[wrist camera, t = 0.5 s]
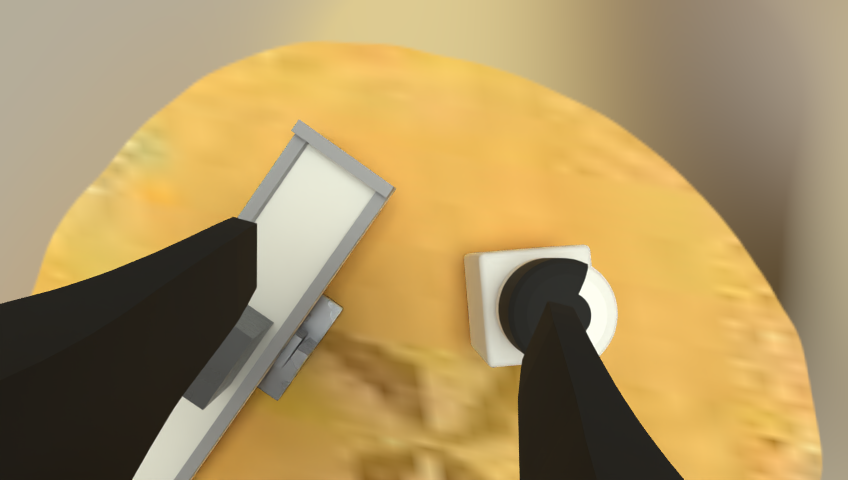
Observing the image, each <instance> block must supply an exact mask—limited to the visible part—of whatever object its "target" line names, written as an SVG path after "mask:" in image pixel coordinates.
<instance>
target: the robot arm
mask: <svg viewBox="0 0 848 480" xmlns="http://www.w3.org/2000/svg"><path fill="white" fill-rule="evenodd" d="M256 288H257V223H254V222H251V221H247V220H243V219H239V218H236V217H232V218H230V219H227V220H225V221H223V222H220V223H218V224H216V225H214V226H212V227H210V228H207V229H205V230H203V231H201V232H199V233H197V234H195V235H193V236H191V237H188V238H186V239H184V240H182V241H180V242H178V243H175V244H173V245H171V246H169V247H167V248H164V249H162V250H160V251H158V252H156V253H153V254H151V255H148V256H146V257H143V258H141V259H139V260H136V261H134V262H131V263H129V264H126V265H124V266H121V267H119V268H117V269H114V270H112V271H109V272H106V273H103V274H101V275H98V276H95V277H92V278H89V279H86V280H83V281H80V282H77V283H74V284H71V285H68V286H65V287H61V288H58V289H55V290H51V291H48V292H44V293H40V294H36V295H32V296H29V297H25V298H21V299H17V300H13V301H10V302H6V303H2V304H0V480H132V479H133V477H134V476H135V474H136V472H137V470H138V469H139V467H140V465H141V463H142V462H143V460H144V458H145V456H146V455H147V453H148V451H149V449H150V448H151V446H152V444H153V443H154V441H155V439H156V438H157V436H158V434H159V433H160V431H161V429H162V428H163V426H164V424H165V423H166V421H167V419H168V418H169V416H170V414H171V413H172V411H173V409H174V408H175V406H176V405H177V403H178V402H179V401H180V399H181V398H182V396H183V395H184V393H185V392H186V391H187V389H188V388H189V387H190V385H191V384H192V383H193V381H194V380H195V379H196V377H197V376H198V375H199V373H200V372H201V371H202V369H203V368H204V367H205V365H206V364H207V363H208V361H209V360H210V359H211V357H212V356H213V355H214V353H215V352H216V351H217V349H218V348H219V347H220V345H221V344H222V343H223V341H224V340H225V339H226V337H227V336H228V335H229V333H230V332H231V331H232V329H233V328H234V326H235V325H236V324H237V322H238V321H239V319H240V317H241V316H242V314H243V312H244V310H245V309H246V307H247V305H248V303H249V301H250V300H251V298H252V296H253V294H254V292H255V290H256ZM518 425H519V466H520V480H684V479H683V478H682V477H681V475H680V474H679V473H678V472H677V471H676V469H675V468H674V467H673V466H672V464H671V463H670V462H669V461H668V459H667V458H666V457H665V456H664V454H663V453H662V452H661V450H660V449H659V448H658V446H657V445H656V444H655V442H654V441H653V440H652V439H651V437H650V436H649V435H648V433H647V432H646V430H645V429H644V428H643V426H642V425H641V423H640V422H639V421H638V419H637V418H636V416H635V415H634V413H633V412H632V410H631V409H630V407H629V405H628V404H627V402H626V401H625V399H624V398H623V396H622V395H621V393H620V392H619V390H618V388H617V387H616V385H615V383H614V381H613V380H612V378H611V376H610V375H609V373H608V371H607V369H606V368H605V366H604V364H603V362H602V361H601V359H600V357H599V355H598V353H597V351H596V349H595V348H594V346H593V344H592V342H591V340H590V338H589V336H588V334H587V332H586V330H585V328H584V326H583V325H582V323H581V321H580V319H579V317H578V315H577V313H576V311H575V309H574V307H570V306H566V305H563V304H559V303H555V302H551V301H548V302H547V304H546V306H545V309H544V311H543V313H542V316H541V318H540V320H539V322H538V325H537V327H536V329H535V331H534V334H533V336H532V338H531V340H530V343H529V345H528V347H527V350H526V352H525V354H524V356H523V359H522V365H521V374H520V383H519V394H518Z"/></svg>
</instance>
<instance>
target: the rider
mask: <svg viewBox="0 0 848 480" xmlns="http://www.w3.org/2000/svg"><path fill="white" fill-rule="evenodd" d="M273 323H274V322H272V321H271V320H269V319H268V318H267V317H265V316H264V315H262V314H261V313H259V312H258V311H256V310H255V309H254V308H252V307H251V306H249V305H247V307H246V309H245V310H244V312H243V314H242V316H241V317H240V319H239V321H238V322H237V324H236V325H235V326H234V328H233V329H232V331H231V332H230V333H229V335H228V336H227V337H226V339H225V340H224V341H223V343H222V344H221V345H220V347H219V348H218V349H217V351H216V352H215V353H214V355H213V356H212V357H211V359H210V360H209V361H208V363H207V364H206V365H205V367H204V368H203V369H202V371H201V372H200V373H199V375H198V376H197V377H196V379H195V380H194V381H193V383H192V384H191V385H190V387H189V388H188V389H187V391H186V392H185V393H184V395H183V397H184V398H186V399H187V400H188V401H190V402H191V403H193V404H194V405H196V406H197V407H199V408H200V409H202V410H204V409H205V408H206V407H207V406H208V405H209V404H210V403H211V402H212V401H213V400H215V399H216V398H217V397H218V396H219V395H220V394H221V393H222V392H223V391H224V390H225V389H227V388H228V387H229V386H230V385H231V383H232V382H233V380H234V379H235V377H236V376H237V375H238V373H239V372H240V370H241V369H242V367H243V366H244V365H245V363H246V362H247V360H248V359H249V357H250V356H251V355H252V353H253V352H254V350H255V349H256V347H257V346H258V345H259V343H260V342H261V340H262V339H263V337H264V336H265V335H266V333H267V332H268V330H269V329H270V327H271V326H272V325H273Z"/></svg>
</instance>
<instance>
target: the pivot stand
mask: <svg viewBox="0 0 848 480" xmlns="http://www.w3.org/2000/svg"><path fill="white" fill-rule="evenodd" d="M342 310H343V307H342V306H340V305H339V304H337V303H336V302H334V301H333V300H332V299H330V298H329V297H327V296H326V295H324V294H322V295H321V297H320V298H319V299H318V301H317V302H316V304H315V305H314V306H313V308H312V309H311V311H310V312H309V314H308V315H307V316H306V318H305V319H304V321H303V322H302V324H301V325H300V326H299V328H298V329H297V331H296V332H295V333H294V335H293V336H292V338H291V339H290V341H289V342H288V343H287V345H286V346H285V348H284V349H283V351H282V352H281V353H280V355H279V356H278V358H277V359H276V360H275V362H274V363H273V365H272V366H271V368H270V369H269V370H268V372H267V373H266V375H265V376H264V378H263V379H262V380H261V382H260V383H259V385H258V386H257V387H258V388H259V389H261V390H262V391H264V392H265V393H267V394H268V395H270V396H271V397H272V398H274V399H275V400H277V401H278V400H279V398H280V397H281V396H282V394H283V393H284V391H285V390H286V388H287V387H288V386H289V384H290V383H291V381H292V380H293V379H294V377H295V376H296V374H297V373H298V372H299V370H300V369H301V367H302V366H303V365H304V363H305V362H306V360H307V359H308V357H309V356H310V355H311V353H312V352H313V350H314V349H315V348H316V346H317V345H318V343H319V342H320V341H321V339H322V338H323V336H324V335H325V334H326V332H327V331H328V329H329V328H330V327H331V325H332V324H333V322H334V321H335V319H336V318H337V317H338V315H339V314H340V312H341V311H342Z"/></svg>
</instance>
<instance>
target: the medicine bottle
mask: <svg viewBox="0 0 848 480" xmlns="http://www.w3.org/2000/svg"><path fill="white" fill-rule="evenodd" d="M464 266H465V278H466V290H467V302H468V314H469V326H470V338H471V345H472V347H473V348H474V349H475V350H476V351H477V353H478V354H479V355H480V356H481V357H482V358H483V359H484V361H485V362H486V363H487V364H488V365H489V366H490V367H502V366H512V365H522V359H523V356H524V354H525V352H526V350H527V347H528V345H529V343H530V340H531V338H532V336H533V334H534V331H535V329H536V327H537V325H538V322H539V320H540V318H541V316H542V313H543V311H544V309H545V306H546V304H547V302H548V301H551V302H555V303H559V304H563V305H566V306H570V307H574V309H575V311H576V313H577V315H578V317H579V319H580V321H581V323H582V325H583V326H584V328H585V330H586V332H587V334H588V336H589V338H590V340H591V342H592V344H593V346H594V348H595V349H596V351H597V353H598V355H599V356H600V355H601V354H602V353H603V352H604V351H605V349H606V348H607V346H608V345H609V343H610V341H611V340H612V338H613V335H614V332H615V329H616V325H617V316H618V313H617V303H616V299H615V296H614V293H613V291H612V289H611V287H610V285H609V283H608V282H607V280H606V279H605V278H604V277H603V276H602V274H601V273H600V272H598V271H597V270H596V269H595V268H593V267H592V265H591V254H590V248H589V247H588V246H587V245H569V246H550V247H538V248H526V249H513V250H501V251H489V252H477V253H468V254H466V255H465V256H464Z"/></svg>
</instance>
